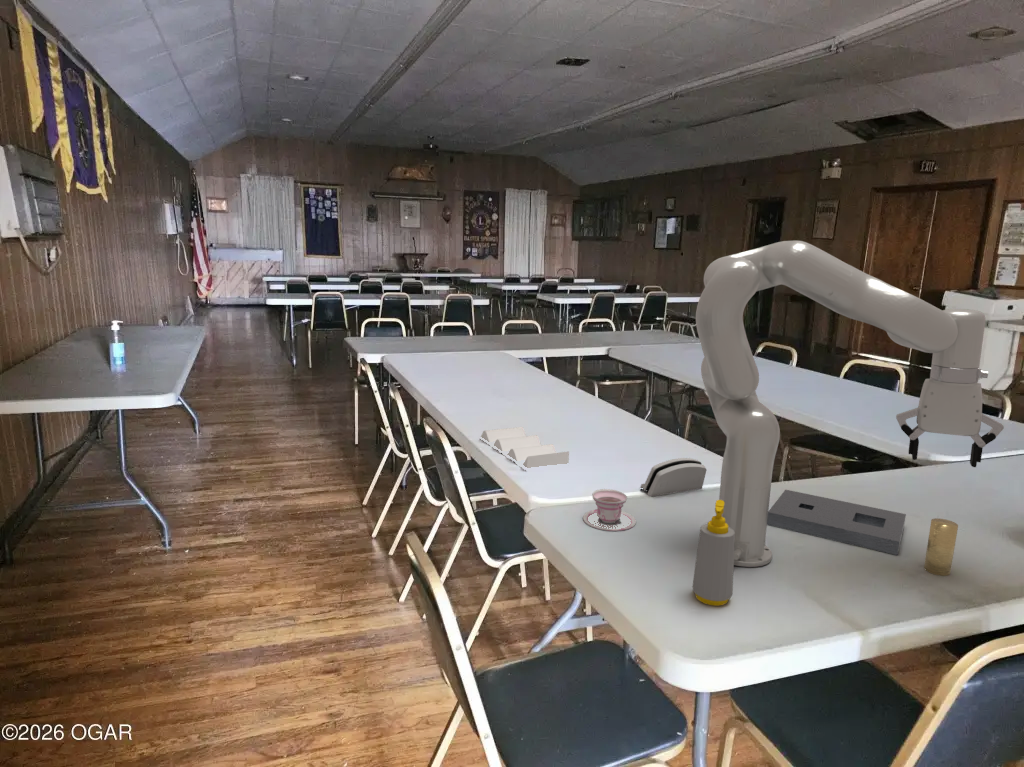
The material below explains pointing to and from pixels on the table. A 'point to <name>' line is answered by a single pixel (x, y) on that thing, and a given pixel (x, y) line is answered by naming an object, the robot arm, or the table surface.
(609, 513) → the teacup
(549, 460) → the white zigzag rack
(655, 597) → the table surface
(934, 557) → the tan cylinder
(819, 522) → the plate
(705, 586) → the soap bottle
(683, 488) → the napkin holder
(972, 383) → the robot arm
